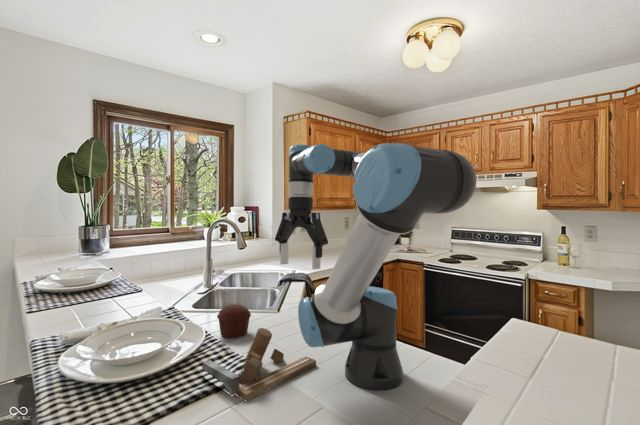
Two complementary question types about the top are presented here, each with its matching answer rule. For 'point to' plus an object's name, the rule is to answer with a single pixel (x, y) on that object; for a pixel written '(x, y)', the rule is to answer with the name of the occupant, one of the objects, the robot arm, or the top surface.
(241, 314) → the muffin
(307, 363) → the board
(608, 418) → the top surface
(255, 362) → the wooden block set
